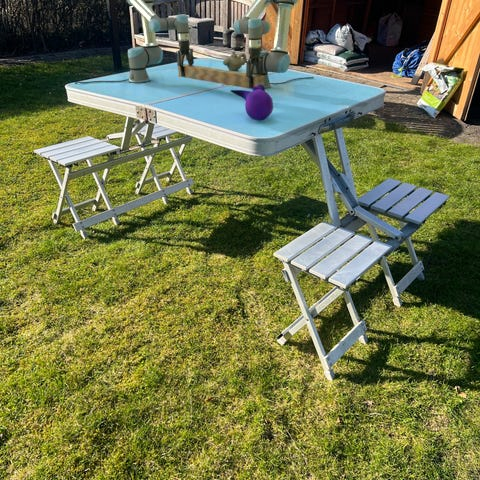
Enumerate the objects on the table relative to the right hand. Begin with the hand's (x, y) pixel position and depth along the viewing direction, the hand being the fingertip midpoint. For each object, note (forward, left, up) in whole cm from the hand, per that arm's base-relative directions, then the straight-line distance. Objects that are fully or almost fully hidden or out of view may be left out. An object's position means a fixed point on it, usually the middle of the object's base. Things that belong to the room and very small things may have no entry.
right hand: (254, 87), depth 279 cm
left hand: (-7, -64, 0) cm, 64 cm away
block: (-3, -32, -1) cm, 32 cm away
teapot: (-72, -70, -7) cm, 101 cm away
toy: (+35, +24, -7) cm, 43 cm away
